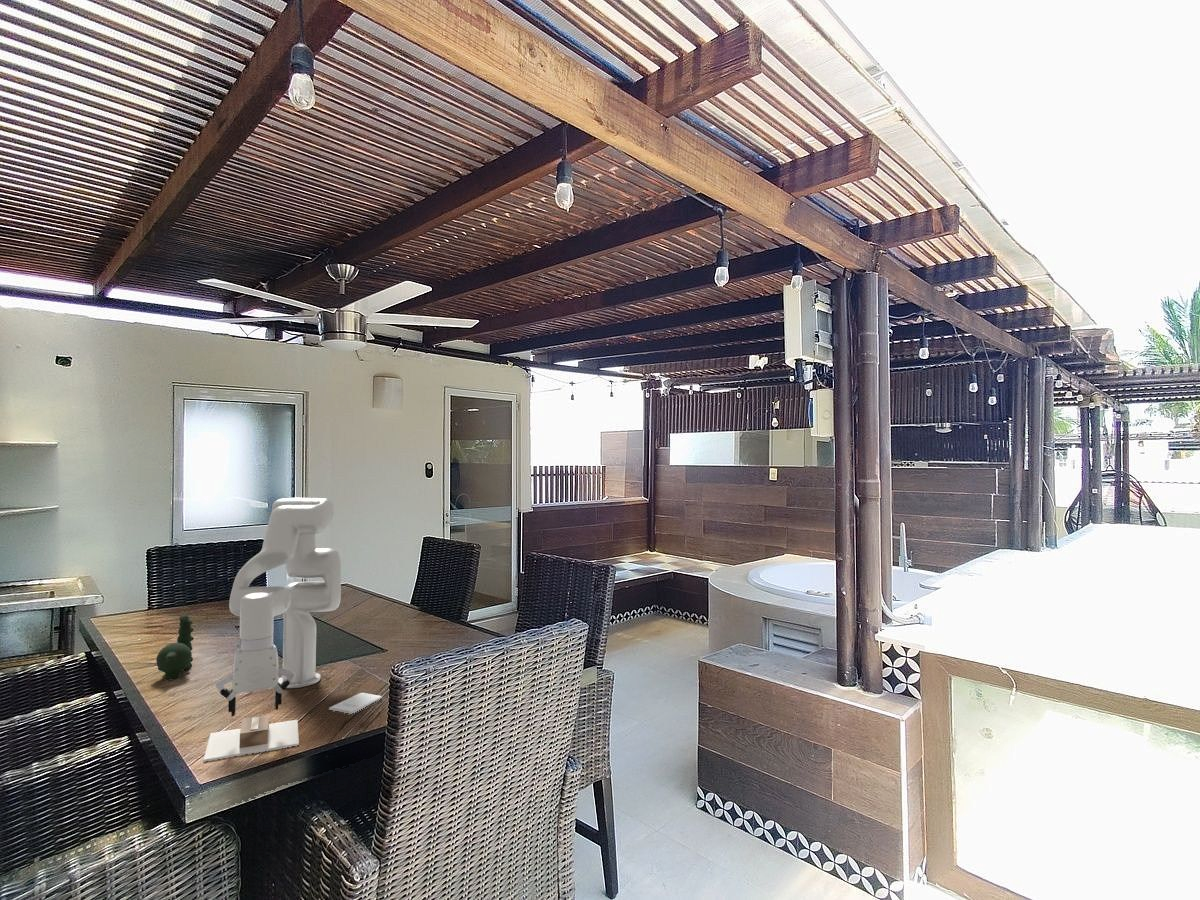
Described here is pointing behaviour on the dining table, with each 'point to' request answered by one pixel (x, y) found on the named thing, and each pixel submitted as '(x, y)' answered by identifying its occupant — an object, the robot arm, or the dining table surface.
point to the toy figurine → (177, 652)
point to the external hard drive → (355, 703)
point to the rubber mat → (229, 742)
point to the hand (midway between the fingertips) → (255, 710)
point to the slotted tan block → (254, 731)
